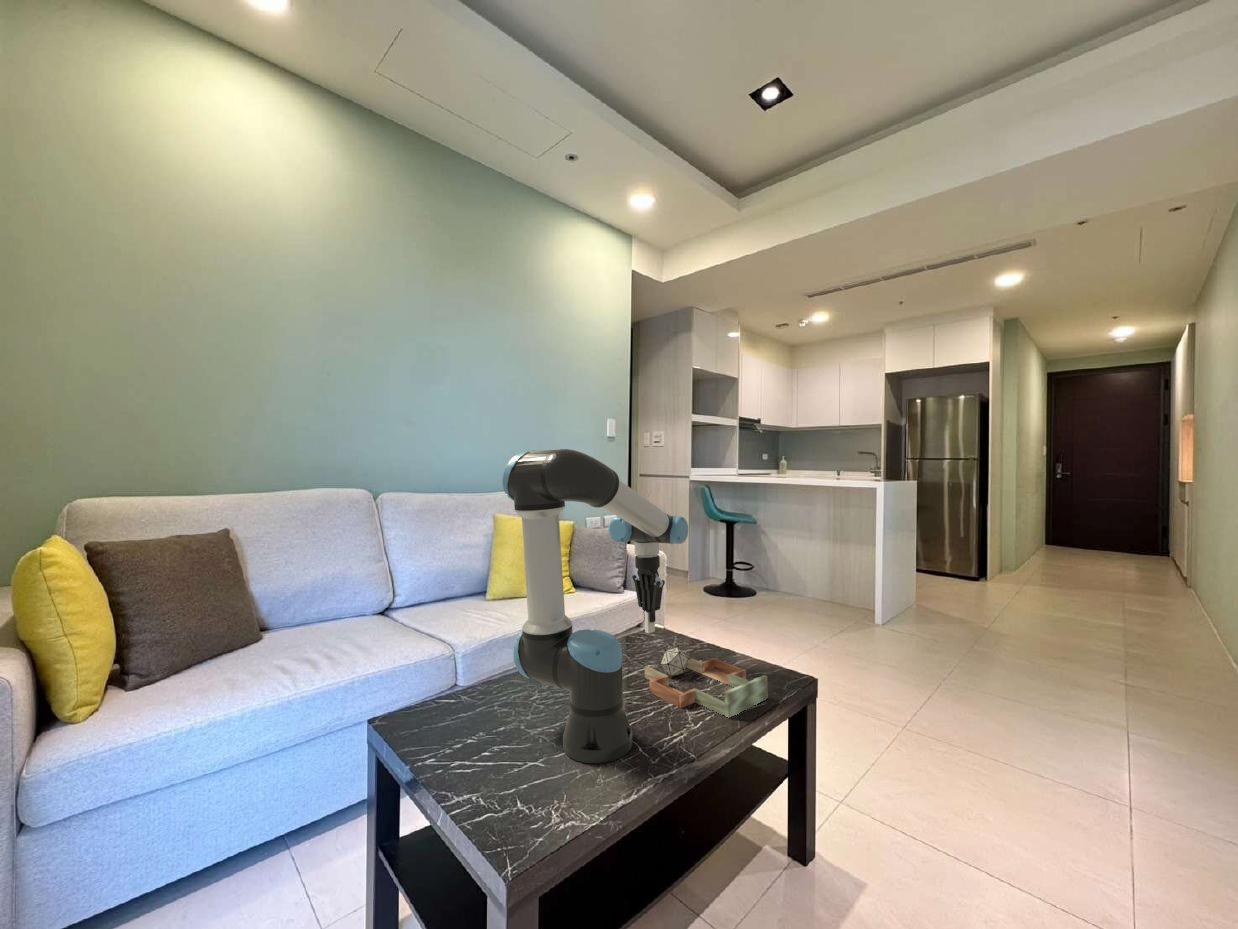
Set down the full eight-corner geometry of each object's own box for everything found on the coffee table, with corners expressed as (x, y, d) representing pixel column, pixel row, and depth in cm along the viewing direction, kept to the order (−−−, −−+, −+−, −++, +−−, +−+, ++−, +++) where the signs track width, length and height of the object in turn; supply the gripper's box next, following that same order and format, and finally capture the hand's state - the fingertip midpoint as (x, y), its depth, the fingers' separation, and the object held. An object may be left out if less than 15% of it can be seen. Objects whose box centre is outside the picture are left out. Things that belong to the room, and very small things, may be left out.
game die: (681, 690, 142) (693, 669, 137) (653, 680, 142) (664, 658, 137) (683, 664, 150) (695, 643, 145) (657, 654, 150) (667, 633, 145)
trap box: (714, 725, 115) (713, 699, 115) (631, 682, 140) (630, 660, 140) (779, 694, 130) (779, 671, 130) (694, 660, 154) (693, 640, 155)
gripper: (670, 556, 150) (673, 634, 150) (643, 551, 160) (645, 624, 160) (651, 559, 145) (654, 640, 145) (624, 554, 155) (627, 629, 155)
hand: (650, 631), depth 152 cm, fingers closed
